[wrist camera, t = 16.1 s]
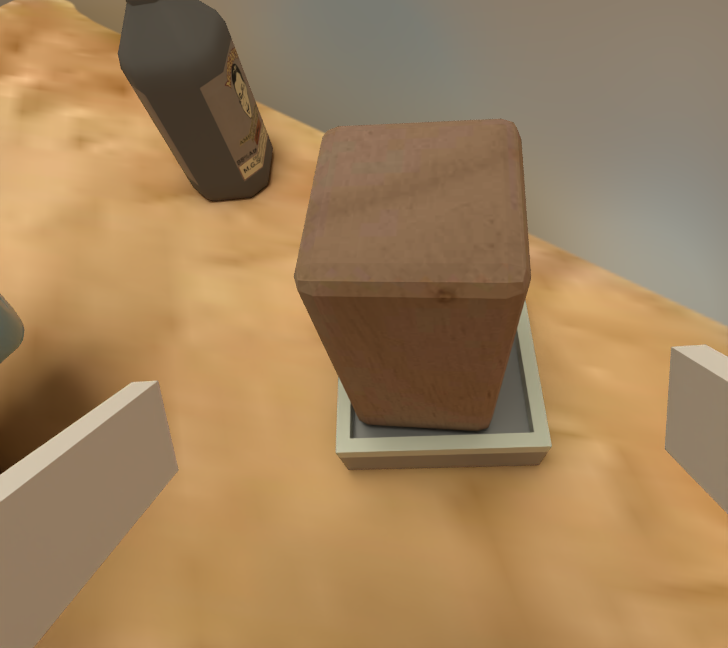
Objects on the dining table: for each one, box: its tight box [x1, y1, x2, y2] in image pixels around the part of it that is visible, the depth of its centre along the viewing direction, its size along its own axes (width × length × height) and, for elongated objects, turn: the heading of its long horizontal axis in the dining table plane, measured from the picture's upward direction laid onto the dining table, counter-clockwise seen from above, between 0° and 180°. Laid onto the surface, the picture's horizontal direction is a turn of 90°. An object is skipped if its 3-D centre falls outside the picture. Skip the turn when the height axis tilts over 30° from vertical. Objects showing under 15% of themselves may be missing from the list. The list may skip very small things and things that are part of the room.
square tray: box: [336, 301, 552, 470], centre depth 40 cm, size 15×15×6 cm
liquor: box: [118, 0, 273, 201], centre depth 46 cm, size 9×9×30 cm
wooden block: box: [294, 119, 531, 431], centre depth 30 cm, size 10×10×20 cm
